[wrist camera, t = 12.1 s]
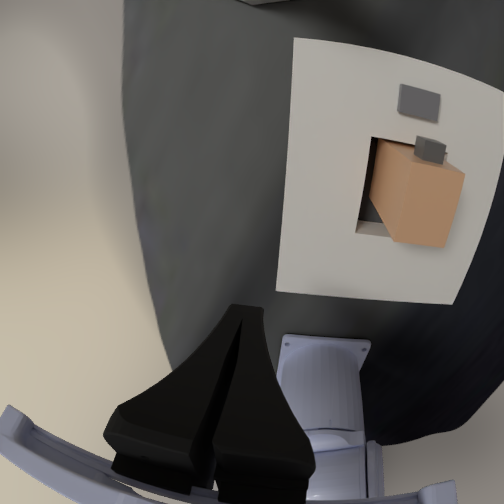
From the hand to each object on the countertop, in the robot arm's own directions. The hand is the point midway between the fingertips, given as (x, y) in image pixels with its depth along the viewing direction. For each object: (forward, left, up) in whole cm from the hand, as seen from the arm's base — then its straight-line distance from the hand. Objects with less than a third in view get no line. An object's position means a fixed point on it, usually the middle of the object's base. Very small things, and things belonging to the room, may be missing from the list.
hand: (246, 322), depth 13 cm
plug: (+5, -8, -10) cm, 13 cm away
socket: (+4, -8, -9) cm, 13 cm away
